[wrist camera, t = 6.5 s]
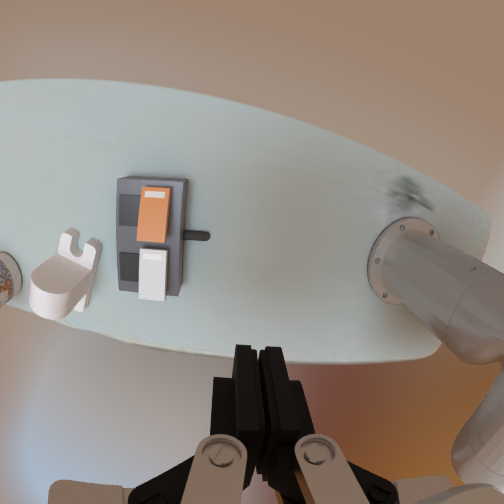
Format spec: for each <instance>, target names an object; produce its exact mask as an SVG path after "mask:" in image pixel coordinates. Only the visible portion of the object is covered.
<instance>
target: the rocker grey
mask: <svg viewBox="0 0 504 504" xmlns="http://www.w3.org/2000/svg"><path fill="white" fill-rule="evenodd" d="M167 262H168V250H165V249H153V248H140V257H139V299H147V300H157V301H165V300H166V285H167Z"/></svg>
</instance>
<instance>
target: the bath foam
mask: <svg viewBox="0 0 504 504" xmlns="http://www.w3.org/2000/svg"><path fill="white" fill-rule="evenodd" d="M20 288H21V274H20V270H19V268H18V266H17V264H16V262H15V261H14V260H13V259H12V258H11V257H10V256H9V255H8V254H6V253H3V252H1V253H0V308H1V307H2V306H3V305H5V304H6V303H7V302H8V301H9V300H10V299H11V298H12V297H14V296H15V295H16V294H17V293H18V292H19V290H20Z"/></svg>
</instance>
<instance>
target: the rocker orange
mask: <svg viewBox="0 0 504 504" xmlns="http://www.w3.org/2000/svg"><path fill="white" fill-rule="evenodd" d="M170 198H171V189H170V188H159V187H142V190H141V198H140V207H139V217H138V227H137V240H136V241H147V242H159V243H166V239H167V227H168V217H169V207H170Z"/></svg>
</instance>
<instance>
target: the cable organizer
mask: <svg viewBox="0 0 504 504" xmlns="http://www.w3.org/2000/svg"><path fill="white" fill-rule="evenodd" d="M78 236H79V232H78V231H76V230H74V229H69V230H68V231H66V232H64V233H62V235H61V238H60V243H59V248H58V253H57V254H56V255H54V256H53V257H51V258H50V259H48V260H47V261H46V262H44V263H43V264H41V265H40V266H39V267H37V268H36V269H35V270H34V271H33V272H32V274H31V282H30V296H29V304H30V307H31V309H32V310H33V311H34V312H35V313H36V314H37V315H39V316H41V317H43V318H46V319H53V320H56V319H61V318H64V317H66V316H67V315H68V314H69V313H70V312H71V310H72V309H74V310H76V311H78V312H83V310H84V309H85V308H86V307H87V305H88V304H89V299H90V294H91V290H92V285H93V281H94V276H95V272H96V268H97V264H98V260H99V257H100V253H101V249H102V244H101V243H100V242H99V241H97V240H95V239H93V238H92V239H90V240H89V241H87V242H86V243H85V247H84V251H83V252H82V251H80V250H79V249H78V247H77V240H78Z"/></svg>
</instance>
